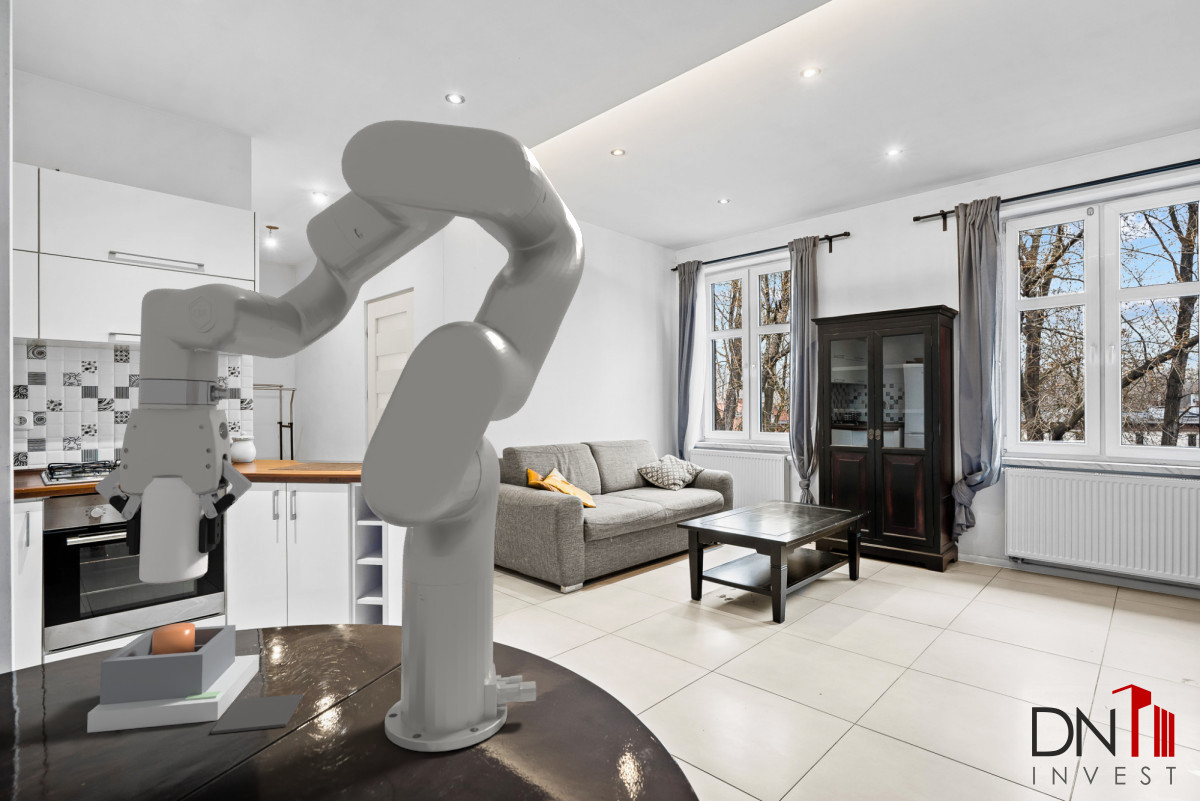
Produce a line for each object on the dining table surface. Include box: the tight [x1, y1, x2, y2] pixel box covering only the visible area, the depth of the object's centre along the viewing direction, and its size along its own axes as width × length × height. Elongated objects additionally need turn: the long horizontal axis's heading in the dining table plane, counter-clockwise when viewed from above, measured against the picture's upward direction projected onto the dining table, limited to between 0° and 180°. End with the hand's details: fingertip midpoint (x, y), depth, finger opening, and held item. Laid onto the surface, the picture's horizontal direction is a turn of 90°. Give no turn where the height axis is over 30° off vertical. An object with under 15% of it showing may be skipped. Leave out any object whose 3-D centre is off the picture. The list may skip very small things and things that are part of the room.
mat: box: [210, 693, 304, 735], centre depth 66 cm, size 7×7×1 cm
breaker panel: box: [86, 624, 260, 734], centre depth 69 cm, size 12×13×6 cm
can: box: [138, 476, 209, 586], centre depth 70 cm, size 6×6×12 cm
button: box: [152, 622, 196, 655], centre depth 69 cm, size 4×4×3 cm
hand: (173, 550), depth 70 cm, fingers closed on can, 6 cm apart
